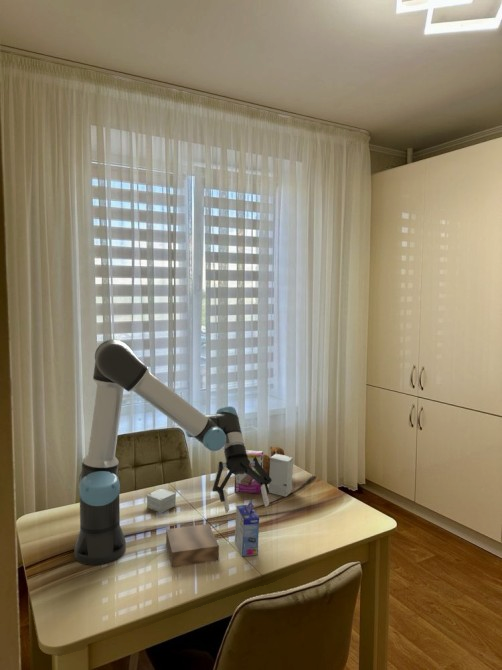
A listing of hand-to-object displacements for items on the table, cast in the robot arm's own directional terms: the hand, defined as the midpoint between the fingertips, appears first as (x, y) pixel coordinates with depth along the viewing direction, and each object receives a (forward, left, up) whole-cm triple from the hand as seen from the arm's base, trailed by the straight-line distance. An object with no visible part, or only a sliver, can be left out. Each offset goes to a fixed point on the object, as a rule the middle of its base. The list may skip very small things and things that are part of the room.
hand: (247, 508), depth 153 cm
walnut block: (-19, -1, -11) cm, 22 cm away
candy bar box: (+12, +37, -11) cm, 40 cm away
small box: (-23, +33, -11) cm, 42 cm away
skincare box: (+24, +32, -11) cm, 42 cm away
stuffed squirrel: (+27, +48, -11) cm, 56 cm away
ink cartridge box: (-2, -4, -11) cm, 12 cm away
